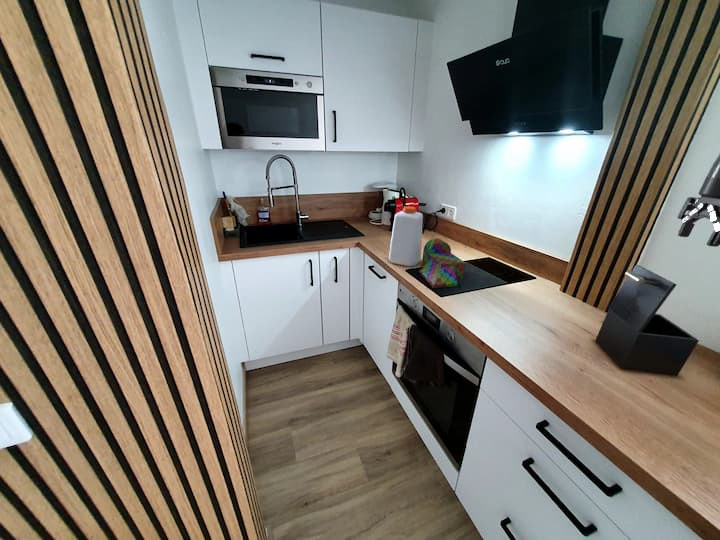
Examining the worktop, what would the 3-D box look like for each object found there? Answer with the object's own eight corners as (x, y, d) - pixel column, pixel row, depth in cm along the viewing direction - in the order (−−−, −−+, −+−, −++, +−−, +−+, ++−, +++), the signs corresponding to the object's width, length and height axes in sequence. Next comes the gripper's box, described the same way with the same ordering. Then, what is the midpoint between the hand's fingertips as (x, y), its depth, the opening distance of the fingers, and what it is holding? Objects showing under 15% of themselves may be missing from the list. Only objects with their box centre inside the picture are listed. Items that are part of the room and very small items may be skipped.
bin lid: (639, 265, 79) (620, 260, 80) (677, 284, 68) (655, 279, 68) (610, 308, 85) (593, 304, 86) (641, 332, 74) (621, 327, 74)
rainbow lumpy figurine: (411, 265, 144) (414, 238, 138) (442, 263, 147) (446, 237, 142) (433, 287, 121) (437, 256, 116) (469, 285, 125) (475, 255, 119)
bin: (643, 346, 88) (660, 314, 83) (677, 376, 77) (699, 340, 72) (594, 341, 90) (608, 309, 85) (621, 369, 79) (639, 333, 74)
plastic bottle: (422, 258, 153) (428, 206, 142) (414, 268, 141) (420, 212, 130) (395, 253, 159) (399, 203, 148) (385, 262, 147) (389, 208, 136)
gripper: (783, 180, 62) (741, 251, 68) (719, 175, 75) (689, 234, 81) (742, 179, 63) (705, 248, 69) (686, 173, 76) (659, 232, 82)
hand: (696, 241), depth 75 cm, fingers open, 8 cm apart
